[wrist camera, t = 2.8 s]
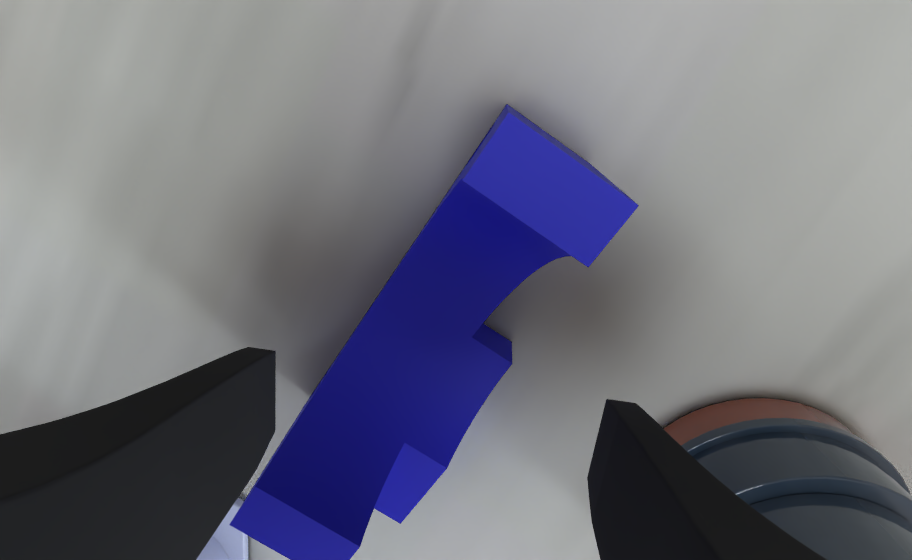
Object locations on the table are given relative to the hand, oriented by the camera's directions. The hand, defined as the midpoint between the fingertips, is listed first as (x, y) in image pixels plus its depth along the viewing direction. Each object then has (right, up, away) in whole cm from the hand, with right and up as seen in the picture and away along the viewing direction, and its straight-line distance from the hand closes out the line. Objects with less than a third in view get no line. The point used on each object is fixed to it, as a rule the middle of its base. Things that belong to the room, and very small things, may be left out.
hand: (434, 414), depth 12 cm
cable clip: (0, +2, +6) cm, 7 cm away
